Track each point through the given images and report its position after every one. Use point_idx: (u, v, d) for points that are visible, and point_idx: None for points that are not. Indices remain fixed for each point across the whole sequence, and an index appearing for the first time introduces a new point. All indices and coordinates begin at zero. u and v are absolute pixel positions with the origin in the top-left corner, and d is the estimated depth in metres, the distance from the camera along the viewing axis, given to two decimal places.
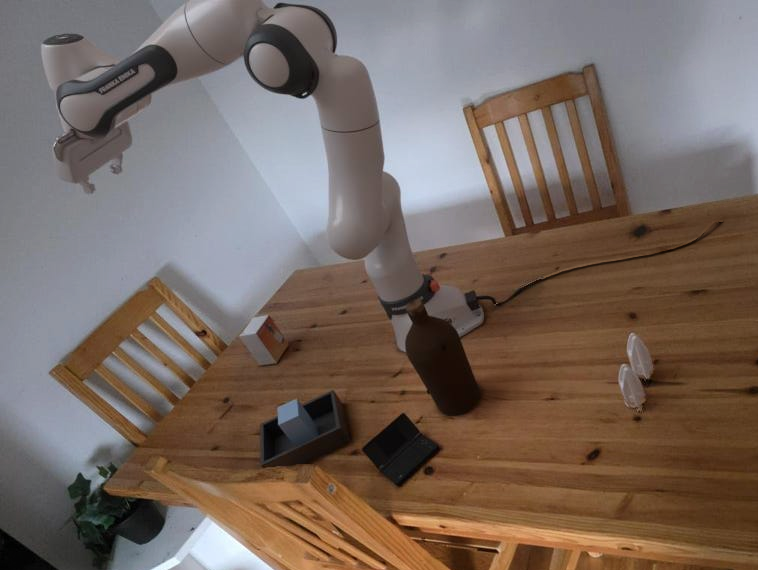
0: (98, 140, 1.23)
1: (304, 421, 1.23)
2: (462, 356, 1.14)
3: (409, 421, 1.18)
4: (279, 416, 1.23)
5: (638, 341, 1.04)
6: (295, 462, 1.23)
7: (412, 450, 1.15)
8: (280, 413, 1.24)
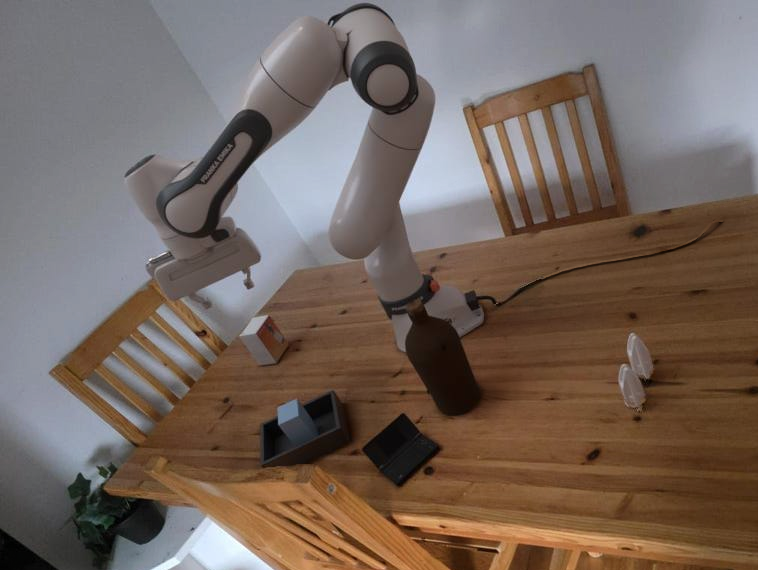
0: (191, 261, 1.16)
1: (304, 421, 1.23)
2: (462, 356, 1.14)
3: (409, 421, 1.18)
4: (279, 416, 1.23)
5: (638, 341, 1.04)
6: (295, 462, 1.23)
7: (412, 450, 1.15)
8: (280, 413, 1.24)
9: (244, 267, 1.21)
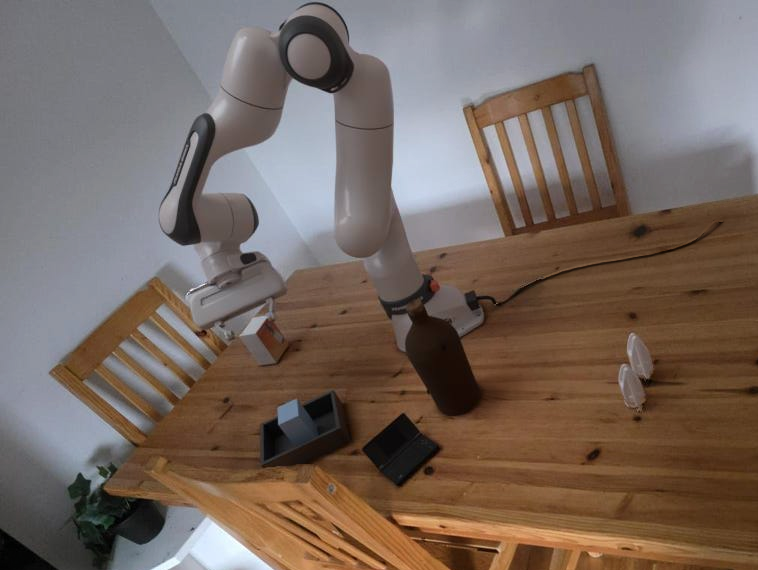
0: (220, 283, 1.24)
1: (304, 421, 1.23)
2: (462, 356, 1.14)
3: (409, 421, 1.18)
4: (279, 416, 1.23)
5: (638, 341, 1.04)
6: (295, 462, 1.23)
7: (412, 450, 1.15)
8: (280, 413, 1.24)
9: (267, 294, 1.25)
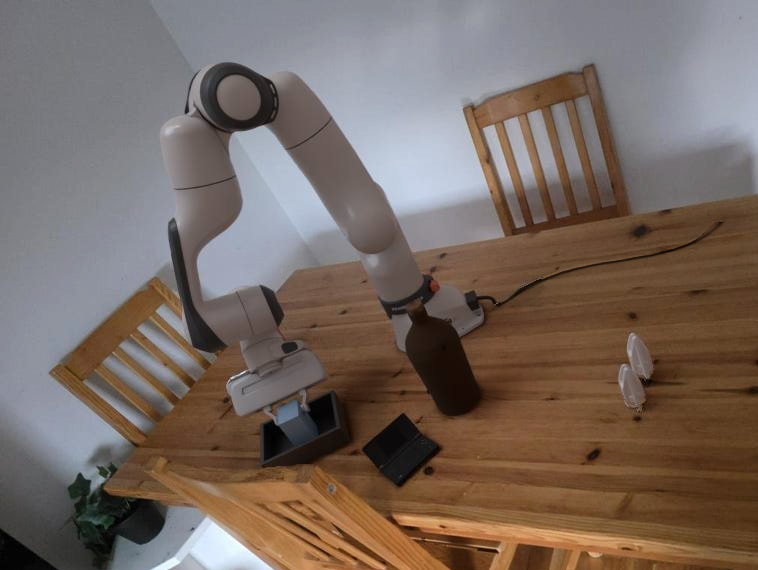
0: (262, 373, 1.24)
1: (304, 421, 1.23)
2: (462, 356, 1.14)
3: (409, 421, 1.18)
4: (279, 416, 1.23)
5: (638, 341, 1.04)
6: (295, 462, 1.23)
7: (412, 450, 1.15)
8: (280, 413, 1.24)
9: (308, 383, 1.24)
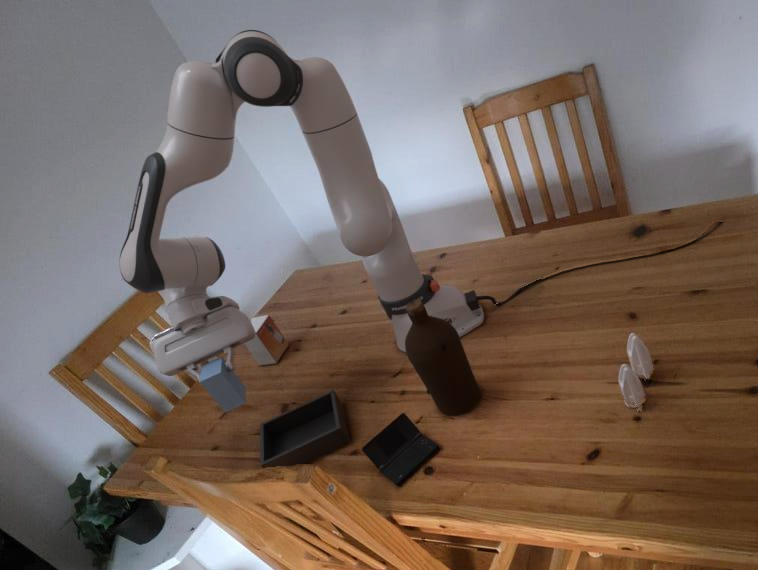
0: (185, 329, 1.21)
1: (228, 379, 1.20)
2: (462, 356, 1.14)
3: (409, 421, 1.18)
4: (202, 373, 1.20)
5: (638, 341, 1.04)
6: (295, 462, 1.23)
7: (412, 450, 1.15)
8: (203, 370, 1.21)
9: (233, 340, 1.22)
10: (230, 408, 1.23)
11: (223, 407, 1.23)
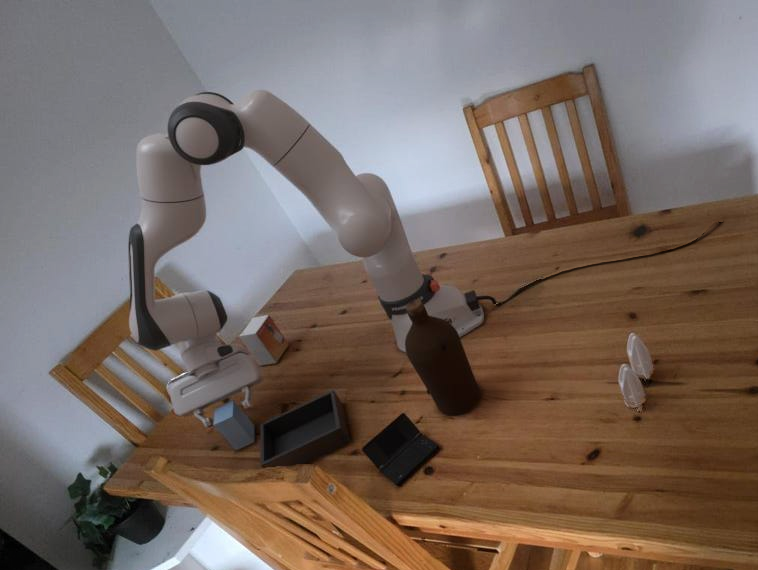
0: (199, 374, 1.32)
1: (239, 421, 1.31)
2: (462, 356, 1.14)
3: (409, 421, 1.18)
4: (215, 417, 1.31)
5: (638, 341, 1.04)
6: (295, 462, 1.23)
7: (412, 450, 1.15)
8: (217, 413, 1.32)
9: (243, 384, 1.32)
10: (241, 447, 1.34)
11: (234, 447, 1.34)
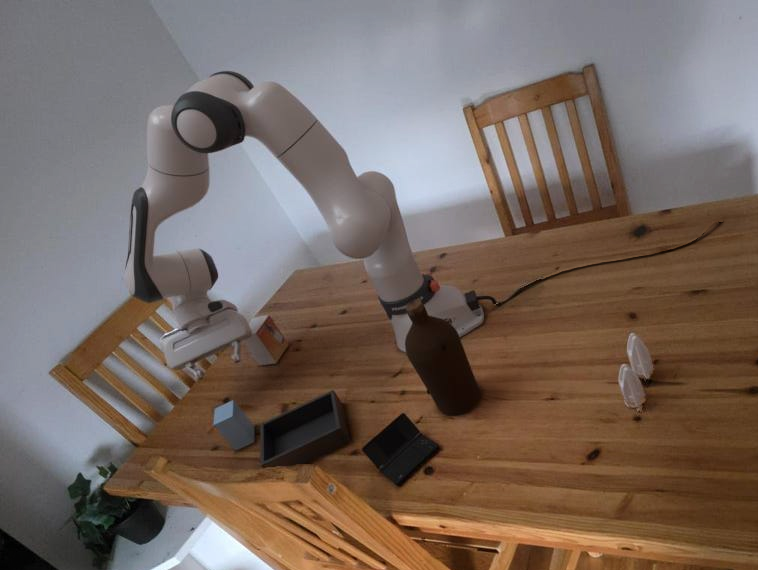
0: (190, 329, 1.39)
1: (239, 421, 1.31)
2: (462, 356, 1.14)
3: (409, 421, 1.18)
4: (215, 417, 1.31)
5: (638, 341, 1.04)
6: (295, 462, 1.23)
7: (412, 450, 1.15)
8: (217, 413, 1.32)
9: (232, 338, 1.39)
10: (241, 447, 1.34)
11: (234, 447, 1.34)
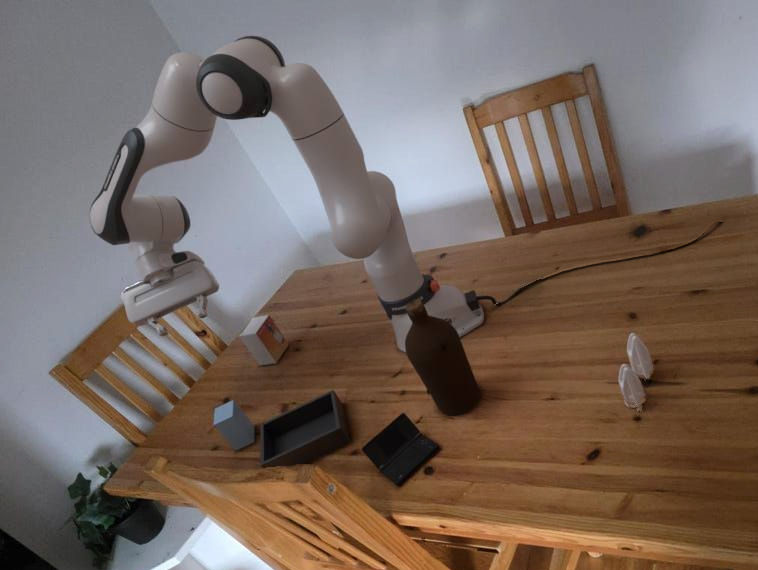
0: (153, 282, 1.31)
1: (239, 421, 1.31)
2: (462, 356, 1.14)
3: (409, 421, 1.18)
4: (215, 417, 1.31)
5: (638, 341, 1.04)
6: (295, 462, 1.23)
7: (412, 450, 1.15)
8: (217, 413, 1.32)
9: (197, 292, 1.31)
10: (241, 447, 1.34)
11: (234, 447, 1.34)
